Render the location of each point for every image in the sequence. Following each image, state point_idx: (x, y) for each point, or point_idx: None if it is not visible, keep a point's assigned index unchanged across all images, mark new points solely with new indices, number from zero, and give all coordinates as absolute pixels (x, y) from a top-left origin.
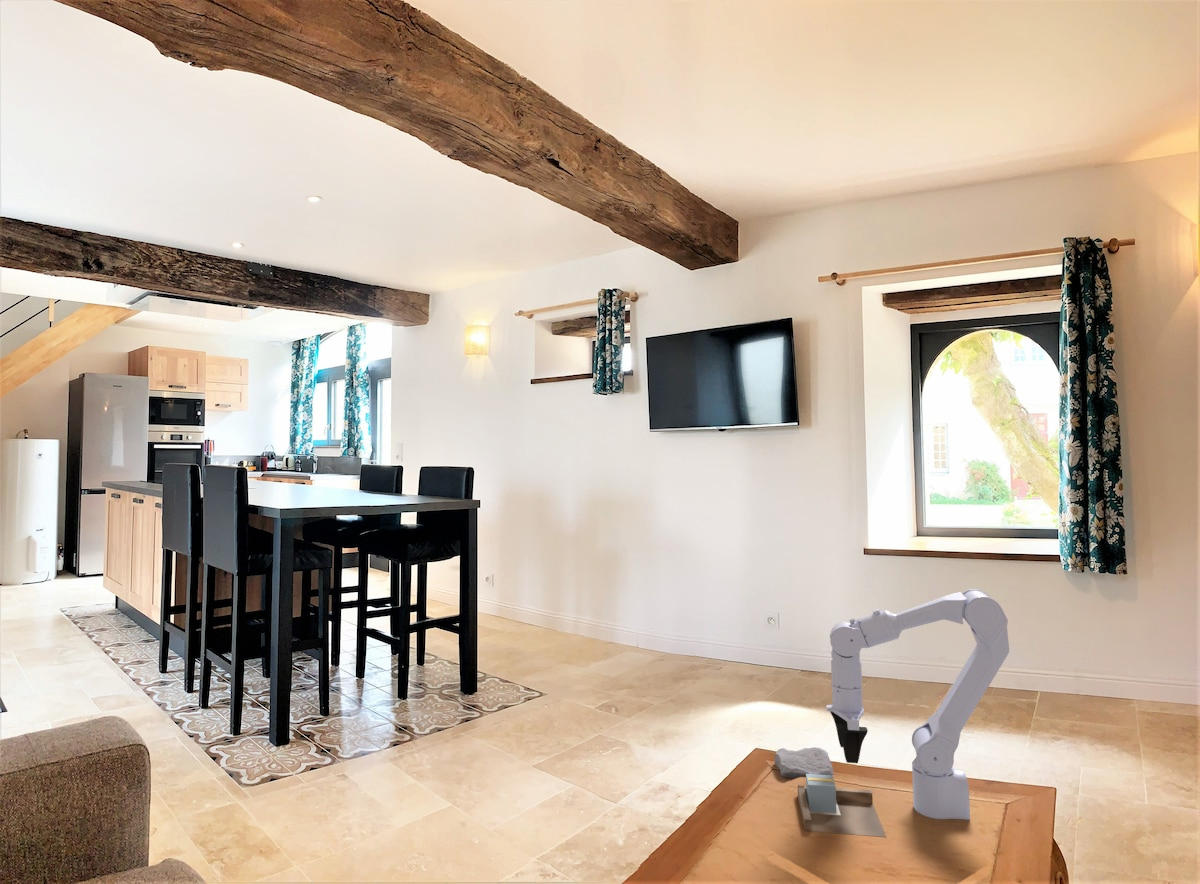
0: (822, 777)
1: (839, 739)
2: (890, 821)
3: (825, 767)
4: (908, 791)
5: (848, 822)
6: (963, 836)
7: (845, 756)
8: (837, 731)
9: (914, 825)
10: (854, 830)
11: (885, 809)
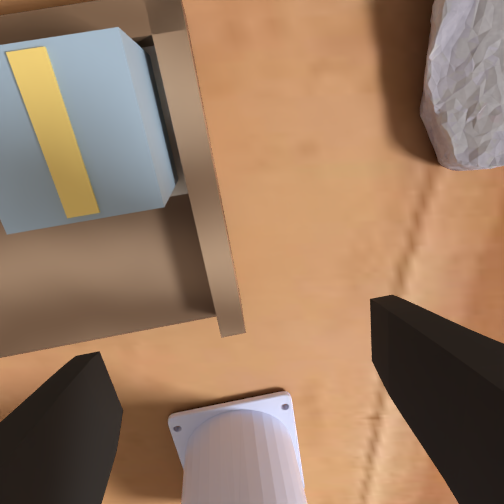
0: (106, 150)
1: (401, 324)
2: (158, 351)
3: (473, 137)
4: (381, 387)
5: (18, 245)
6: (149, 492)
7: (43, 384)
8: (455, 356)
9: (160, 405)
10: None
11: (237, 336)
